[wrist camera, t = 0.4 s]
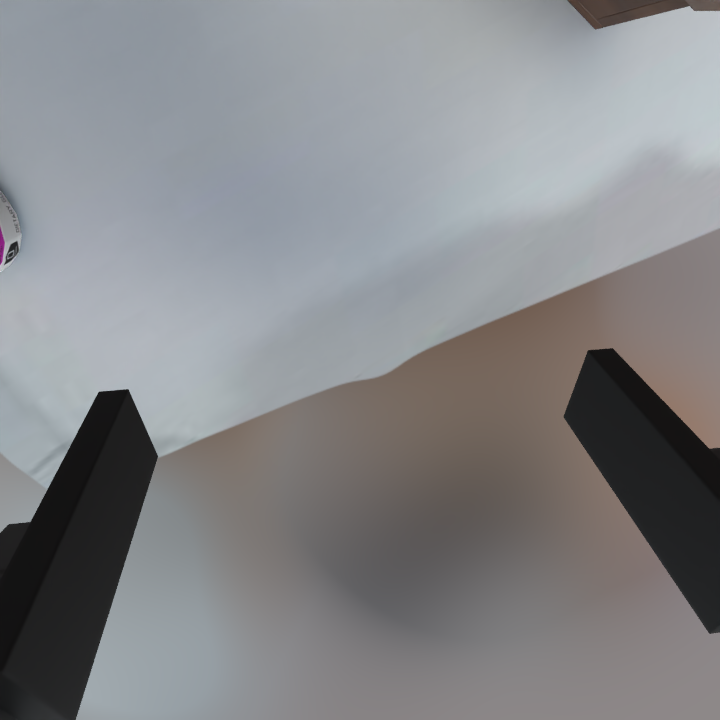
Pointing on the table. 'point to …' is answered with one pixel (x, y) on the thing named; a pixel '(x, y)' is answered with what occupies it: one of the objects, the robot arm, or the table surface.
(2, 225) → the supplement can
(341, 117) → the table surface
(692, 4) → the lid
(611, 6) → the keepsake box
